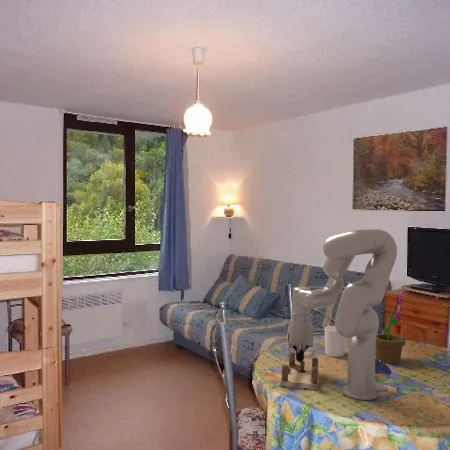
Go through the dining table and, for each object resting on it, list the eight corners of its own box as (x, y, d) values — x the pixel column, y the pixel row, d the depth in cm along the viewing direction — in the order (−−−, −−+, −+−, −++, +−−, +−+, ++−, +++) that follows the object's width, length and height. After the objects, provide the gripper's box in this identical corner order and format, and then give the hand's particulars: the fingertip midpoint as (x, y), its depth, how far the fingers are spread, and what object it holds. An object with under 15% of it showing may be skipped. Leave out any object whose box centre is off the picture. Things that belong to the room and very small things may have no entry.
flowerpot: (399, 368, 200) (401, 297, 198) (366, 361, 208) (368, 293, 207) (409, 359, 211) (411, 293, 210) (377, 353, 220) (379, 289, 219)
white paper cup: (321, 355, 215) (321, 329, 215) (327, 349, 224) (327, 324, 223) (342, 359, 211) (343, 332, 210) (347, 353, 219) (348, 327, 219)
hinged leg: (305, 371, 188) (306, 357, 188) (301, 372, 187) (301, 358, 186) (292, 365, 195) (292, 352, 194) (287, 366, 193) (288, 353, 193)
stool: (318, 376, 188) (319, 357, 188) (318, 389, 175) (318, 369, 174) (283, 373, 191) (283, 355, 191) (280, 386, 177) (280, 366, 177)
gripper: (314, 314, 199) (313, 357, 200) (280, 315, 196) (279, 359, 197) (322, 318, 191) (320, 363, 192) (286, 320, 188) (285, 365, 189)
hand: (299, 361), depth 194 cm, fingers closed
